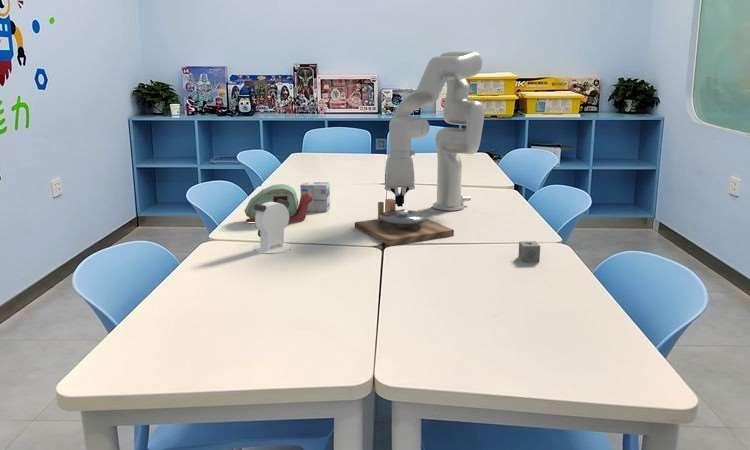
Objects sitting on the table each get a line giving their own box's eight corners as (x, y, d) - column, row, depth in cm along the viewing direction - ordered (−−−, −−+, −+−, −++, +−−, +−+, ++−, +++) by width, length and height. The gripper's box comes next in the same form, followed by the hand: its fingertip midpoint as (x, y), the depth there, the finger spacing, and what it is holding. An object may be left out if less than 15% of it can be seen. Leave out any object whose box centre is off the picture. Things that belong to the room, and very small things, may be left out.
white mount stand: (275, 240, 214) (273, 196, 210) (299, 247, 207) (298, 201, 203) (247, 249, 205) (244, 203, 201) (271, 256, 198) (269, 208, 194)
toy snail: (244, 225, 234) (242, 187, 230) (245, 219, 241) (243, 183, 237) (313, 222, 236) (312, 185, 233) (313, 217, 244) (312, 181, 240)
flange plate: (435, 221, 220) (435, 207, 219) (394, 227, 213) (394, 212, 211) (407, 209, 236) (407, 196, 234) (368, 215, 228) (368, 201, 227)
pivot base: (415, 219, 241) (415, 195, 238) (453, 235, 219) (454, 209, 217) (354, 227, 229) (354, 203, 227) (389, 245, 208) (389, 218, 206)
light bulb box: (330, 208, 258) (330, 181, 255) (327, 212, 252) (327, 184, 249) (304, 207, 259) (303, 181, 256) (300, 211, 253) (299, 184, 250)
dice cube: (534, 257, 197) (535, 241, 196) (539, 262, 192) (540, 246, 191) (518, 257, 197) (519, 241, 195) (522, 262, 192) (523, 246, 190)
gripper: (418, 152, 231) (417, 202, 236) (377, 153, 229) (377, 204, 233) (423, 155, 224) (422, 207, 229) (380, 157, 221) (380, 209, 226)
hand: (399, 205), depth 231 cm, fingers closed
